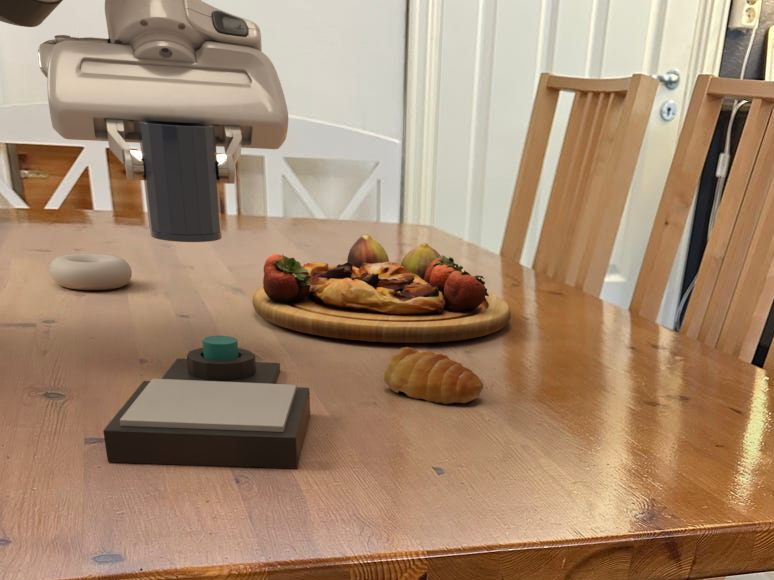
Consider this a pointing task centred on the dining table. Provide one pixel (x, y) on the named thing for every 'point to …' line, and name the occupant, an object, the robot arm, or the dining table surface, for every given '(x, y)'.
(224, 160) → the robot arm
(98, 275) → the donut
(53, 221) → the dining table surface
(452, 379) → the pastry
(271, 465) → the scale
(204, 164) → the cup
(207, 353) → the tare button
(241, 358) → the pad
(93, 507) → the dining table surface
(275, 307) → the wooden plate
